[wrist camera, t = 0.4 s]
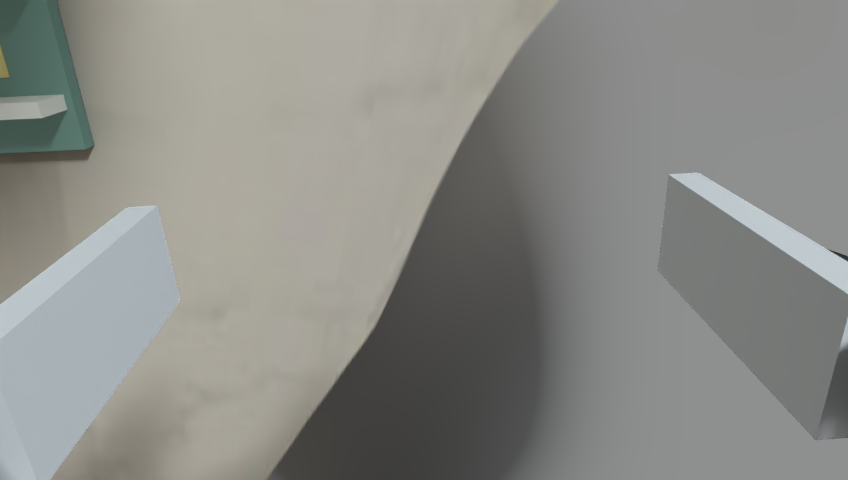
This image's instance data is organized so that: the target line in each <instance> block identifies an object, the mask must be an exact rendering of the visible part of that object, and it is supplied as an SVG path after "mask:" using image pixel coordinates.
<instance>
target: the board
mask: <svg viewBox="0 0 848 480" xmlns="http://www.w3.org/2000/svg"><path fill="white" fill-rule="evenodd" d="M92 146H94V143H93V139H92V135H91V131H90V127H89V124H88V120H87V116H86V112H85V108H84V104H83V101H82V97H81V93H80V89H79V85H78V81H77V78H76V74H75V70H74V66H73V62H72V58H71V55H70V51H69V47H68V43H67V39H66V35H65V32H64V28H63V24H62V20H61V16H60V12H59V9H58V5H57V1H56V0H0V153H20V152H42V151H65V150H86V149H88V148H90V147H92Z"/></svg>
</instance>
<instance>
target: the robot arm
mask: <svg viewBox="0 0 848 480" xmlns="http://www.w3.org/2000/svg"><path fill="white" fill-rule="evenodd" d="M658 272H659V273H660V274H661V275H662V276H663V277H664V278H665V279H666V280H667V281H668V282H669V284H670V285H671V286H672V287H673V288H674V289H675V290H676V291H677V292H678V293H679V294H680V295H681V296H682V298H683V299H684V300H685V301H686V302H687V303H688V304H689V305H690V306H691V307H692V308H693V309H694V310H695V311H696V313H698V315H699V316H700V317H701V318H702V319H703V320H704V321H705V322H706V323H707V324H708V325H709V327H711V329H712V330H713V331H714V332H715V333H716V334H717V335H718V336H719V337H720V338H721V339H722V340H723V342H724V343H726V345H727V346H728V347H729V348H730V349H731V350H732V351H733V352H734V353H735V354H736V355H737V357H738V358H739V359H740V360H741V361H742V362H743V363H744V364H745V365H746V366H747V367H748V368H749V369H750V371H751V372H752V373H753V374H754V375H755V376H756V377H757V378H758V379H759V380H760V381H761V382H762V383H763V384H764V385H765V387H766V388H767V389H768V390H769V391H770V392H771V393H772V394H773V395H774V396H775V397H776V398H777V399H778V400H779V402H780V403H781V404H782V405H783V406H784V407H785V408H786V409H787V410H788V411H789V412H790V413H791V414H792V416H793V417H794V418H795V419H796V420H797V421H798V422H799V423H800V424H801V425H802V426H803V427H804V428H805V430H807V432H808V433H809V434H810V435H811V436H812V437H813V438H814V439H815V440H822V439H836V438H837V439H838V438H848V257H847V256H845V255H843V254H840V253H837V252H834V251H831V250H828V249H826V248H824V247H822V246H821V245H819V244H817V243H816V242H814V241H812V240H810V239H809V238H807V237H805V236H804V235H802V234H800V233H799V232H797V231H795V230H793V229H792V228H790V227H788V226H787V225H785V224H783V223H782V222H780V221H778V220H777V219H775V218H774V217H772V216H770V215H768V214H767V213H765V212H763V211H762V210H760V209H758V208H756V207H755V206H753V205H752V204H750V203H748V202H747V201H745V200H743V199H742V198H740V197H738V196H736V195H735V194H733V193H731V192H730V191H728V190H726V189H725V188H723V187H721V186H720V185H718V184H716V183H715V182H713V181H711V180H709V179H708V178H706V177H705V176H703V175H701V174H700V173H685V174H670V175H669V176H668V185H667V194H666V203H665V211H664V220H663V228H662V237H661V247H660V254H659V264H658ZM179 302H180V297H179V293H178V288H177V284H176V280H175V276H174V272H173V268H172V264H171V260H170V256H169V251H168V247H167V243H166V239H165V235H164V231H163V227H162V223H161V219H160V214H159V210H158V206H157V205H156V206H139V207H127V208H125V209H124V210H123V211H122V212H120V213H119V214H118V215H116V216H115V217H114V218H112V219H111V220H110V221H108V222H107V223H106V224H105V225H103V226H102V227H101V228H99V229H98V230H97V231H95V232H94V233H93V234H92V235H90V236H89V237H88V238H86V239H85V240H84V241H82V242H81V243H80V244H78V245H77V246H76V247H75V248H73V249H72V250H71V251H69V252H68V253H67V254H65V255H64V256H63V257H61V258H60V259H59V260H58V261H56V262H55V263H54V264H52V265H51V266H50V267H48V268H47V269H46V270H45V271H43V272H42V273H41V274H39V275H38V276H37V277H35V278H34V279H33V280H31V281H30V282H29V283H28V284H26V285H25V286H24V287H22V288H21V289H20V290H18V291H17V292H16V293H15V294H13V295H12V296H11V297H9V298H8V299H7V300H5V301H4V302H3V303H1V304H0V480H50V479H51V478H52V476H53V475H54V473H55V472H56V471H57V469H58V468H59V467H60V465H61V464H62V462H63V461H64V460H65V458H66V457H67V456H68V454H69V453H70V452H71V450H72V449H73V447H74V446H75V445H76V443H77V442H78V441H79V439H80V438H81V436H82V435H83V434H84V432H85V431H86V430H87V428H88V427H89V425H90V424H91V423H92V421H93V420H94V419H95V417H96V416H97V414H98V413H99V412H100V410H101V409H102V408H103V406H104V405H105V403H106V402H107V401H108V399H109V398H110V397H111V395H112V394H113V392H114V391H115V390H116V388H117V387H118V386H119V384H120V383H121V382H122V380H123V379H124V377H125V376H126V375H127V373H128V372H129V371H130V369H131V368H132V366H133V365H134V364H135V362H136V361H137V360H138V358H139V357H140V355H141V354H142V353H143V351H144V350H145V349H146V347H147V346H148V344H149V343H150V342H151V340H152V339H153V338H154V336H155V335H156V333H157V332H158V331H159V329H160V328H161V327H162V325H163V324H164V323H165V321H166V320H167V318H168V317H169V316H170V314H171V313H172V312H173V310H174V309H175V307H176V306H177V305H178V303H179Z"/></svg>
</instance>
